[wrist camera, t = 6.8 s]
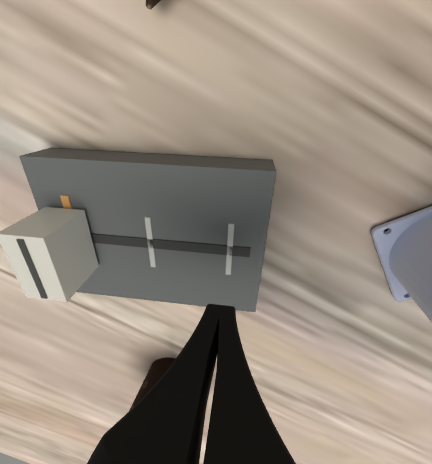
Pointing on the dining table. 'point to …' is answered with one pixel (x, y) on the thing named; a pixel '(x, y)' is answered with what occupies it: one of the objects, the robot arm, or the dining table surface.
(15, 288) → the dining table surface
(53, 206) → the console
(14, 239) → the fader
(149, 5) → the ceramic sculpture
